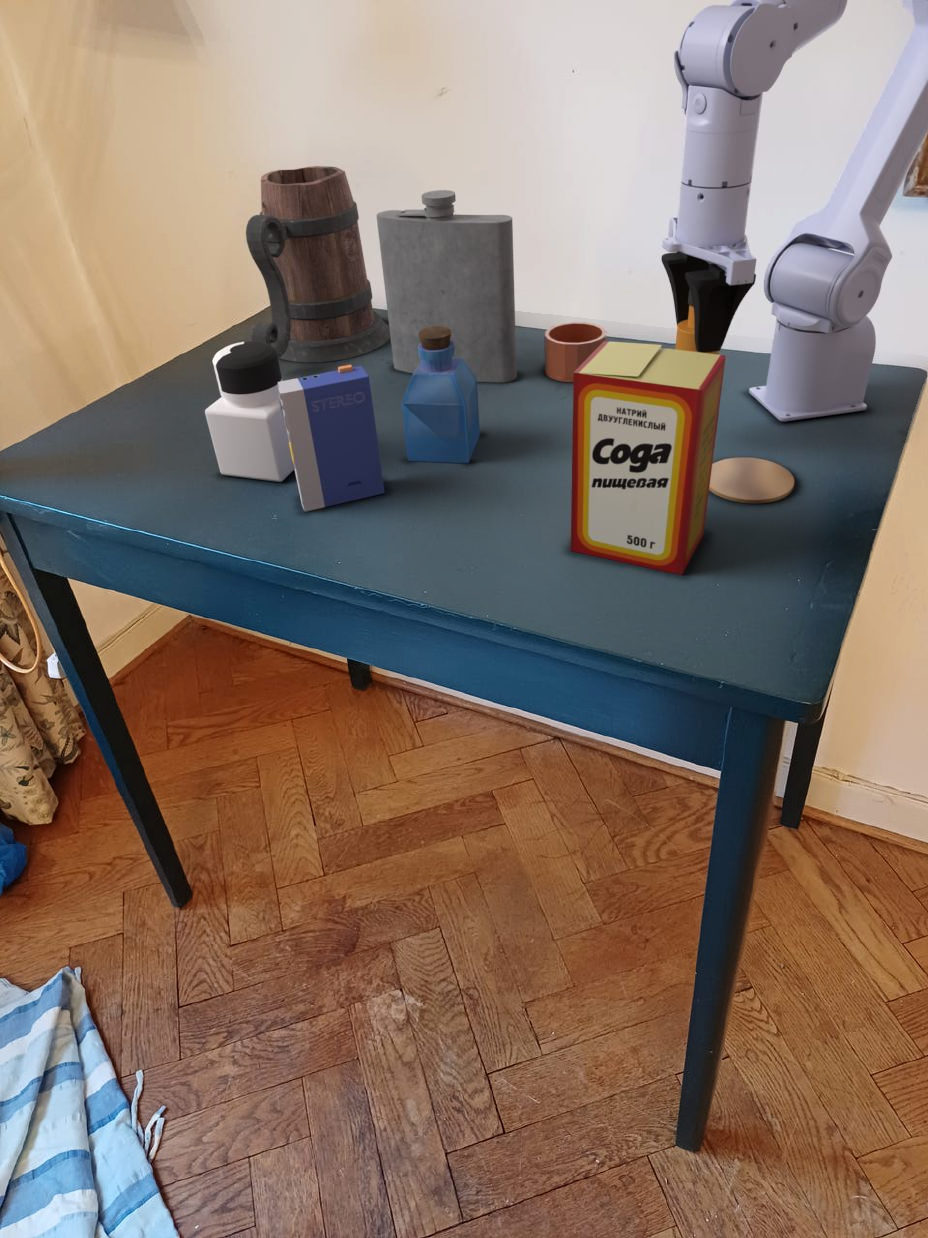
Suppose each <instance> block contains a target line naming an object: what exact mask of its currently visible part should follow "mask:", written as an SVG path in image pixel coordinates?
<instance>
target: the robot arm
mask: <svg viewBox="0 0 928 1238" xmlns="http://www.w3.org/2000/svg"><path fill="white" fill-rule="evenodd" d="M847 4H848V0H732V1H731V3H730V4H728V5H726V4H725V5H723V4H722V5H721V4H712V5H708V6H707V7H704V8H702V9H701V10H700V11H699V12H698V13H697V14H696V15H695V16H694V17H693V19H691V21H689V23H688V24H687V26H686V27H685V29H684V30H683V34H682V36H681V38H680V42H679V47H678V50H674V52H673V66H674V67H673V68H674V71H675V75H676V77H677V80H678V82H679V84H680V87H681V90H682V91H681V92H682V98H681V100H682V101H681V109H682V110H683V114H684V115H685V126H684V136H683V137H684V138H683V148H682V149H683V150H682V161H681V173H680V186H679V188H680V189H679V196H678V197H679V198H678V209H677V216H675V217H673V216H672V217H669V220H668V221H669V222H668V236H667V237H664V238H663V239H662V243H661V247H662V249H664V250H665V251H667V253H664V254H662V255H661V263H662V265H663V268H664V270H665V273H666V275H667V278H668V281H669V284H670V288H671V293H672V299H673V306H674V307H673V308H674V314H675V321H676V327H677V326H678V324H679V323H680V322H682V321H684V320H688V315H689V304H688V298H689V290H690V292H691V296H692V300H693V307H694V334H695V346H696V351H698V352H701V353H706V352H714V351H719V352H720V351H721V350H722V347H723V345H724V342H725V340H726V337H727V335H728V332H729V329H730V327H731V324H732V321H733V319H734V317H735V315H736V313H737V311H738V308H739V307H740V305H741V303H742V301H743V300H744V298H745V297H746V296H747V294H748V293H749V291H750V290H751V289H752V287H753V286H754V285H755V283H756V279H757V274H756V266H757V258H756V257H755V256H753V255H752V253H751V249H750V244H749V240H748V236H747V235H746V229H747V222H748V221H747V220H748V212H749V206H750V205H749V204H750V198H751V189H752V181H753V174H754V166H755V157H756V152H757V151H756V150H757V142H758V134H759V127H760V120H761V112H762V105H763V104H762V103H763V98H764V97H763V95H764V93H766V92H769V91H770V90H771V88H772V87H773V86H774V85H775V84H776V82H777V80H778V79H779V77H780V75H781V74H782V73H781V72H782V70H783V68H784V66H785V64H786V62H788V60H790V59H791V58H792V57H793V55H795V53H797V52H799V51H801V49H803V48H805V47H806V46H807V45H809V44H810V43H812V42H813V41H814V40H816V39H817V38H819V37H820V36H822V35H823V34H824V33H826V32H827V31H829V30H830V29H831V28H833V27H834V26H836V25H837V24H838V23H839V21H840V20H841V18H842V17H843V15H844V12H845V10H846V7H847V6H848V5H847ZM901 4H902V7H903V8H904V9H905V10H906V11H907V12H909V13H910V14H911V15H912V16H913V21H914V22H913V24H914V25H913V29H912V31H911V33H910V35H909V38H908V39H907V41H906V43H905V45H904V48H903V49H902V52H901V53H900V56H899V58H898V59H897V61H896V64H895V66H894V67H893V70H892V71H891V74H890V76H889V78H888V79H887V82H886V83H885V86H884V87H883V89H882V91H881V94H880V96H879V98H878V100H877V101H876V104H875V106H874V108H873V110H872V112H871V113H870V116H869V118H868V119H867V122H866V123H865V126H864V128H863V129H862V132H861V134H860V136H859V138H858V140H857V142H856V144H855V146H854V148H853V150H852V152H851V154H850V156H849V158H848V160H847V161H846V164H845V166H844V168H843V170H842V172H841V173H840V176H839V178H838V181H837V182H836V184H835V186H834V188H833V190H832V191H831V194H830V196H829V198H828V200H827V202H826V204H825V206H823V207H821V208H820V209H818V210H817V211H814V212H812V213H810V214H809V215H806V216H805V217H803V218H801V219H800V220H798V221H797V222H795V223H794V225H793V227H792V229H791V231H790V232H789V235H788V237H787V238H786V240H784V242H783V243H782V245H780V247H778V249H777V250H776V251H775V252H774V254H773V255H772V256H771V258H770V260H769V262H768V264H767V266H766V269H765V273H764V277H763V292H764V296H765V297H766V299H767V301H768V302H769V303H770V304H771V305H772V306H771V312H770V313H771V315H772V316H775V318H776V319H775V327H774V332H773V338H772V345H771V346H772V347H771V352H770V359H769V364H768V370H767V377H766V385H759V386H755V387H754V386H752V387H750V388H749V389H748V393H749V394H750V395H751V396H752V397H753V398H754V399H756V401H758V402H759V403H760V404H761V405H762V406H763V407H764V408H765V409H766V410H768V412H770V413H771V414H772V415H773V416H774V417H775V418H776V419H777V420H778V421H780V422H790V421H791V422H792V421H798V420H804V419H811V418H820V417H825V416H834V415H840V414H849V413H855V412H861V411H866V410H867V408H868V405H867V404H866V403H865V402H864V401H865V395H866V392H867V387H868V383H869V380H870V374H871V371H872V370H871V369H872V366H873V362H874V356H875V352H876V345H877V341H876V339H877V338H876V337H877V336H876V331H875V330H876V329H875V327H874V324H873V322H872V320H871V319H870V318H869V317H868V314H869V313H870V312H871V311H872V309H873V308H874V306H875V304H876V302H877V300H878V299H879V295H880V294H881V293H880V292H881V289H882V283H883V279H884V276H885V273H886V271H887V269H888V266H889V264H890V263H891V261H892V258H893V253H892V251H891V248H890V246H889V244H888V241H887V239H886V237H885V235H884V233H883V230H882V229H881V227H880V226H881V224H882V222H883V220H884V218H885V216H886V214H887V213H888V211H889V208H890V207H891V205H892V203H893V201H894V199H895V197H896V195H897V193H898V192H899V190H900V189H901V186H902V184H903V182H904V180H905V178H906V176H907V174H908V173H909V170H910V169H911V167H912V165H913V163H914V161H915V159H916V157H917V155H918V153H919V151H920V149H921V148H922V145H924V144H923V143H924V141H925V140H926V138H927V136H928V0H901Z"/></svg>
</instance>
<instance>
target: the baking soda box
mask: <svg viewBox="0 0 928 1238" xmlns="http://www.w3.org/2000/svg"><path fill="white" fill-rule="evenodd" d="M662 346H663V344H655V343H639V342H627V341H626V342H624V341H607V340H606V341H604V342H603V343H602V344H601V345H600V346H599V347H598V348H597V349H596V350H595V351H594V352H593V353H592V354H591V355H590V356H589V357H588V358H587V359H586V360H585V361H584V362H583V363H582V364H581V365H580V366H579V367H578V369H577V370H576V371H575V372H574V375H573V382H572V384H573V386H572V391H573V392H572V442H571V443H572V444H571V445H572V446H571V448H572V449H571V502H570V503H571V505H570V509H571V510H570V552H574V553H579V554H584V555H587V556H593V557H598V558H602V559H606V560H611V561H617V562H620V563H624V564H629V565H634V566H639V567H644V568H648V569H651V570H658V571H660V572H661V571H662V572H665V573H670V574H676V575H678V576H679V575H680V576H683V574H684V572H685V570H686V568H687V566H688V565H689V562H690V561H691V558H692V557H693V555H694V553H695V551H696V549H697V548H698V545H699V544H700V542H701V540H702V538H703V536H704V533H705V526H706V517H707V509H708V502H709V493H710V490H709V486H710V478H711V470H712V464H713V463H714V462H713V461H714V454H715V446H716V437H717V430H718V429H717V428H718V422H719V414H720V406H721V398H722V391H723V382H724V373H725V366H726V358H727V357H726V356H727V355H725V354H719V355H717V354H709V353H701V352H692V351H684V350H675V348H666V347H662Z"/></svg>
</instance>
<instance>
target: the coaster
mask: <svg viewBox="0 0 928 1238" xmlns="http://www.w3.org/2000/svg"><path fill="white" fill-rule="evenodd" d="M794 488H795V477H794V476H793V474H792V473H791V472H790V471H789V470H788V469H787V468H786V467H784V466H783V465H780V464H778V463H776V462H775V461H774V462H773V461H770V460H767V459H763V458H757V457H748V456H747V457H746V456H745V457H743V456H742V457H730V458H725V459H720V460H719V461H715V462H712V470H711V478H710V486H709V492H711V493H713V494H714V495H715V496H718V497H720V498H723V499H725V500H727V501H732V502H736V503H741V504H751V505H752V504H754V505H755V504H767V503H773V502H777V501H779V500H782V499H784V498H786V497H788V496H789V495H790V494H791V493H792V492H793V490H794Z"/></svg>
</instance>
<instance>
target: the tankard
mask: <svg viewBox="0 0 928 1238" xmlns="http://www.w3.org/2000/svg"><path fill="white" fill-rule="evenodd" d="M260 203H261V204H260V205H261V206H260V207H261V209H260V210H261V211H260V213H259V214H255V215H252V216H251V217H250V218H249V220H247V224H246V227H245V239H246V240H245V241H246V244H247V247H248V250H249V253H250V256H251V258H252V260H253V261H254V263H255V265H256V267H257V269H258V270H259V272H260V274H261V276H262V278H263V280H264V283H265V287H266V289H267V293H268V294H267V295H268V299H269V305H270V306H269V307H270V315H271V322H261V321H258V322H257V323H255V324H254V325H253V326H252V328H251V332H250V340H251V341H255V342H261V343H266V344H269V345H271V346H272V347H273V348H274V349H276V351H277V356H278V359H281V360H283V361H284V360H285V361H290V362H295V363H297V362H298V363H325V362H334V361H335V362H336V361H341V360H347V359H350V358H355V357H359V356H362V355H365V354H367V353H370V352H372V351H375V350H377V349H379V348H380V347H382V346H383V345H385V344H386V343H387V342H388V341H389V340H391V337H390V328H389V324H387V322H385V321H384V320H383V318H382V316H381V315H380V314H379V313H378V312H377V311H375V310H374V307H373V303H372V300H373V292H372V291H373V290H372V285H371V281H370V280H369V279H368V275H367V269H366V263H365V257H364V252H363V246H362V245H363V244H362V239H361V234H360V233H361V232H360V228H359V218H360V216H359V210H358V203H357V202H356V201H354V197H353V193H352V191H351V188H350V183H349V181H348V177H347V174H346V171H345V170H344V169H341V168H339V167H337V166H325V165H324V166H321V165H320V166H319V165H313V166H312V165H311V166H305V167H300V168H299V167H298V168H295V169H276V170H271V171H269V172H266V173H264V174H263V175H262V176H261V177H260Z"/></svg>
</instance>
